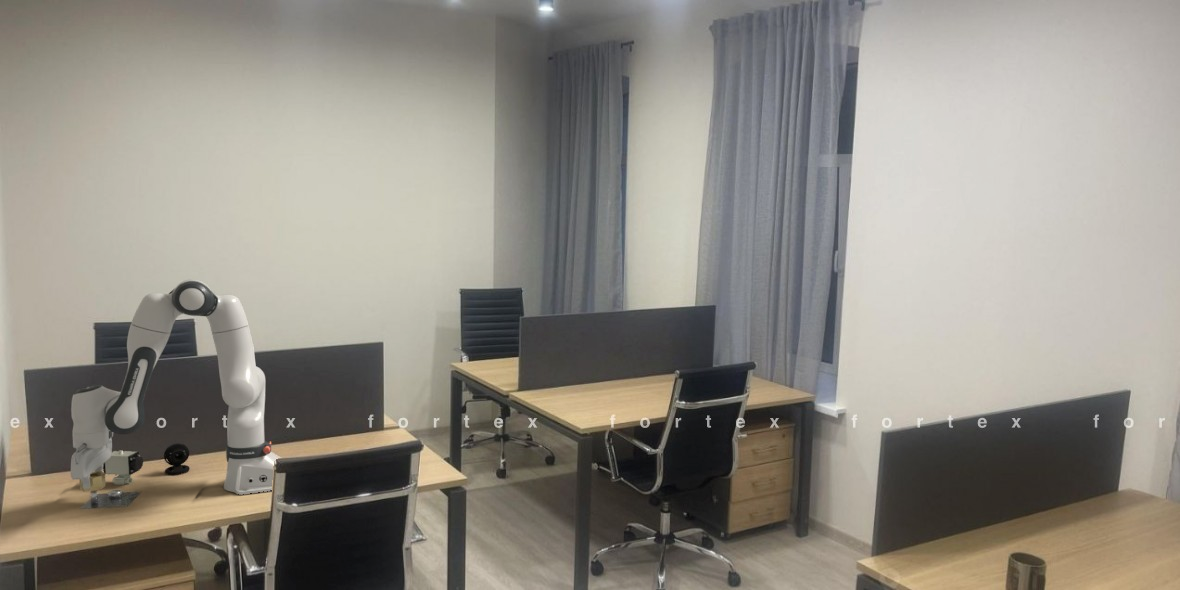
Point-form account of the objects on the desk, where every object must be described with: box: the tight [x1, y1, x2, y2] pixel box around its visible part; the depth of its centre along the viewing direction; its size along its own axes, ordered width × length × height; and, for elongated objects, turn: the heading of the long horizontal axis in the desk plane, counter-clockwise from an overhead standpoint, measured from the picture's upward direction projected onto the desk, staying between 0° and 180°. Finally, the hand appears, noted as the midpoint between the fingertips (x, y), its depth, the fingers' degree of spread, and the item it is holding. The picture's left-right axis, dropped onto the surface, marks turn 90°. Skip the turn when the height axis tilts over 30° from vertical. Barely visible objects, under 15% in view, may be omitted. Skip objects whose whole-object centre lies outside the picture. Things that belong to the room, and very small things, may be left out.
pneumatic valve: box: [102, 449, 144, 486], centre depth 246 cm, size 6×12×12 cm, turn 89°
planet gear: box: [78, 471, 106, 492], centre depth 228 cm, size 6×6×4 cm
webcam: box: [163, 443, 190, 476], centre depth 259 cm, size 8×8×10 cm
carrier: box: [79, 489, 142, 510], centre depth 231 cm, size 13×12×5 cm
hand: (92, 483), depth 228 cm, fingers closed on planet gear, 6 cm apart
